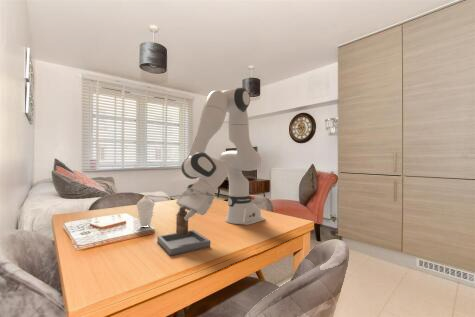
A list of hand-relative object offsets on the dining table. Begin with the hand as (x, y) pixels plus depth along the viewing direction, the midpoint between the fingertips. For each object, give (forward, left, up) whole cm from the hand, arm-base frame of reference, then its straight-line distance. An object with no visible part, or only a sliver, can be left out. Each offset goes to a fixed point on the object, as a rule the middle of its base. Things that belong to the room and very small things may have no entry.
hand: (181, 218), depth 96 cm
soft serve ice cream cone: (+6, -32, -11) cm, 34 cm away
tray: (-1, 0, -11) cm, 11 cm away
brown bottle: (-1, 0, -6) cm, 6 cm away
